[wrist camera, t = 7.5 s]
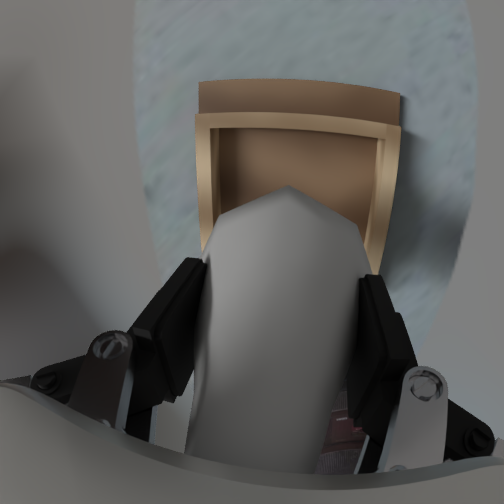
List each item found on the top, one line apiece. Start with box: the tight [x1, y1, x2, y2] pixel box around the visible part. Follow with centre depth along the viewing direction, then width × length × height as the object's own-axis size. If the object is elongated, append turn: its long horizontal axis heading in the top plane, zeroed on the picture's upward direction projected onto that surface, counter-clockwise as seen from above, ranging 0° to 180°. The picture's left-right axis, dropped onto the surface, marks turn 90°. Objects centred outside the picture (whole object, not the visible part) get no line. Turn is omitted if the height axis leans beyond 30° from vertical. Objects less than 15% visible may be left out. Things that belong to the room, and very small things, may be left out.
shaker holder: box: [195, 79, 401, 275], centre depth 19 cm, size 18×14×3 cm
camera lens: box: [314, 376, 367, 475], centre depth 22 cm, size 8×8×15 cm
